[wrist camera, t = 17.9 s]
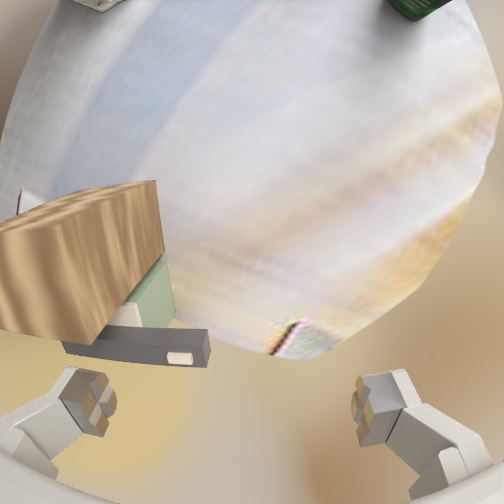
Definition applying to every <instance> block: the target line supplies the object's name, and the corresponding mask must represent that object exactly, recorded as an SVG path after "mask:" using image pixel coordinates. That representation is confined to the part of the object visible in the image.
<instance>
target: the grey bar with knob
mask: <svg viewBox="0 0 504 504" xmlns="http://www.w3.org/2000/svg"><path fill="white" fill-rule="evenodd" d="M61 342H62V345H63V347H64V349H65V351H66V353H68V354H73V355H79V356H86V357H93V358H100V359H106V360H114V361H122V362H131V363H142V364H152V365H165V366H180V367H202V368H204V367H205V368H206V367H207V364H208V359H209V356H210V351H211V348H210V342H209V336H208V330H207V329H174V328H172V329H171V328H148V327H129V326H114V325H105V327H104V328H103V329H102V331H101V332H100V333H99V335H98V336H97V338H96V339H95V340H94V342H93V343H92V344H91V345H86V344H79V343H72V342H65V341H61Z"/></svg>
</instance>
